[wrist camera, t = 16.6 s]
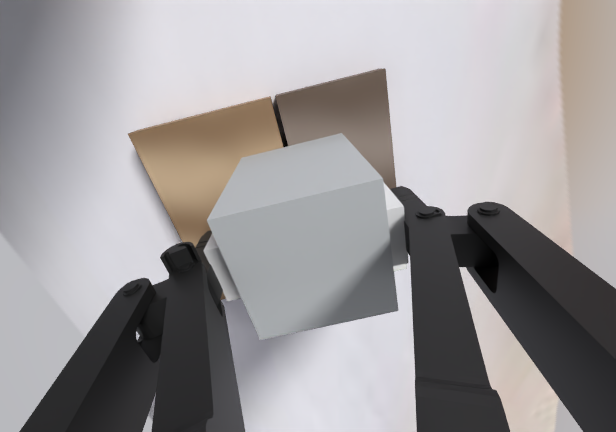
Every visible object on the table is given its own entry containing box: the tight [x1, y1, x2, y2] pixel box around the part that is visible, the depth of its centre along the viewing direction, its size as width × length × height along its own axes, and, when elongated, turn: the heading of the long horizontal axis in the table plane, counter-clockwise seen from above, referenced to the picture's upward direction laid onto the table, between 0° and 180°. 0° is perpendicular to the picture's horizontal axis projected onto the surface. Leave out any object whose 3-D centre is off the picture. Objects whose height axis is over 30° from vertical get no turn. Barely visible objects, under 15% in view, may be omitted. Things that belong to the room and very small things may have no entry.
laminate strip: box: [275, 69, 396, 189], centre depth 19 cm, size 12×6×1 cm, turn 13°
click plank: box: [128, 96, 284, 300], centre depth 19 cm, size 12×8×1 cm, turn 13°
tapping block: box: [207, 133, 398, 340], centre depth 14 cm, size 6×6×8 cm
